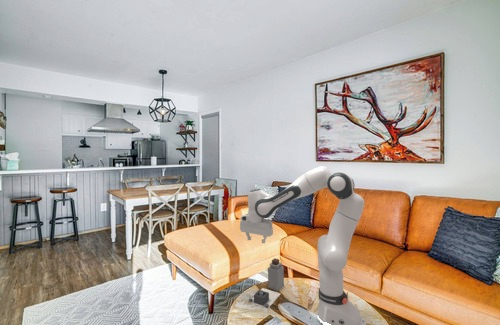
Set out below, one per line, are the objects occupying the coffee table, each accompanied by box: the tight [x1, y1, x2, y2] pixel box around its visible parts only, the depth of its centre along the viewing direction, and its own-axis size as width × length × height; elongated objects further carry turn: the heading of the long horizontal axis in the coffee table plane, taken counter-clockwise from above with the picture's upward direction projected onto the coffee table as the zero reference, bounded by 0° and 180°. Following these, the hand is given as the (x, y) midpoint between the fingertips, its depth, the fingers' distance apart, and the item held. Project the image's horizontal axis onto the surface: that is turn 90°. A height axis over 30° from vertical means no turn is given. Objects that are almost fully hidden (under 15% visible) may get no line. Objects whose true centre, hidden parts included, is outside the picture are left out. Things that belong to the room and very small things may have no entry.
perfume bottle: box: [267, 257, 285, 292], centre depth 151 cm, size 7×7×18 cm
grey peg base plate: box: [247, 287, 282, 310], centre depth 140 cm, size 12×16×6 cm
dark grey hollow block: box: [253, 289, 269, 306], centre depth 137 cm, size 6×6×4 cm
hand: (256, 241), depth 145 cm, fingers open, 8 cm apart
